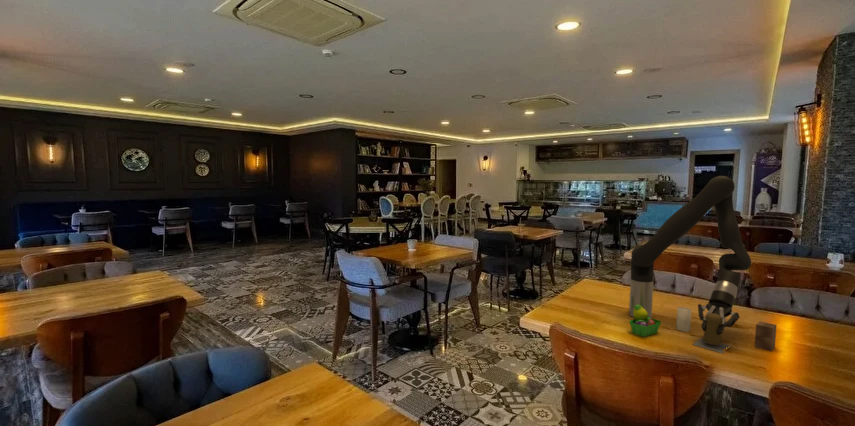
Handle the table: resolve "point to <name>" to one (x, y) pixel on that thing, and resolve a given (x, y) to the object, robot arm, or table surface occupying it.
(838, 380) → the table surface
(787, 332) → the table surface
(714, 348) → the grey flat sheet
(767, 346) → the walnut block
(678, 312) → the cream block
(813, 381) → the table surface
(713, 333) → the cork
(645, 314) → the fruit basket
